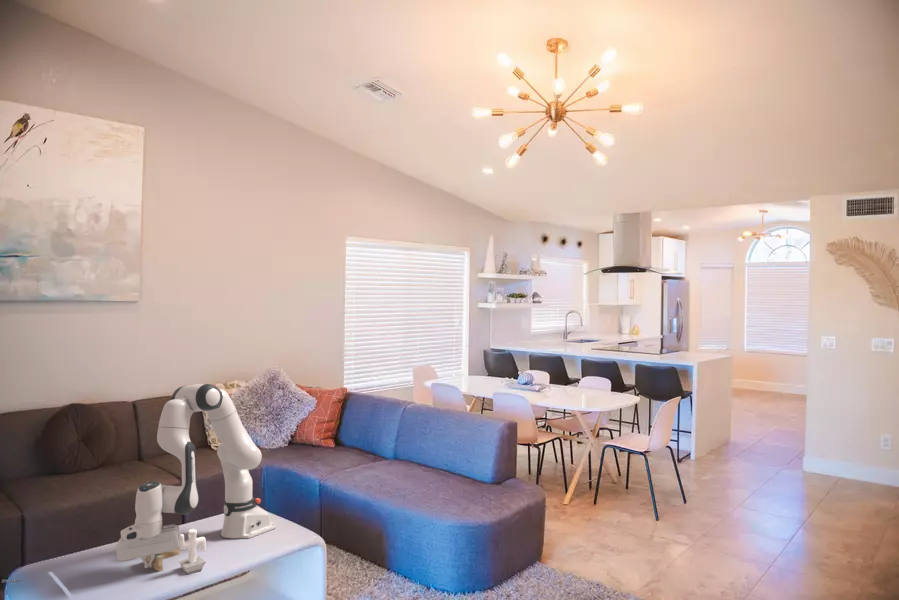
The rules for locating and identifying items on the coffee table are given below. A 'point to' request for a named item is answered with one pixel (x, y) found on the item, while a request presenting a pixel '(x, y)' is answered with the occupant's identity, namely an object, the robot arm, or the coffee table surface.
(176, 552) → the panel
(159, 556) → the fence gate
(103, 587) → the coffee table surface
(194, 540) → the figurine
